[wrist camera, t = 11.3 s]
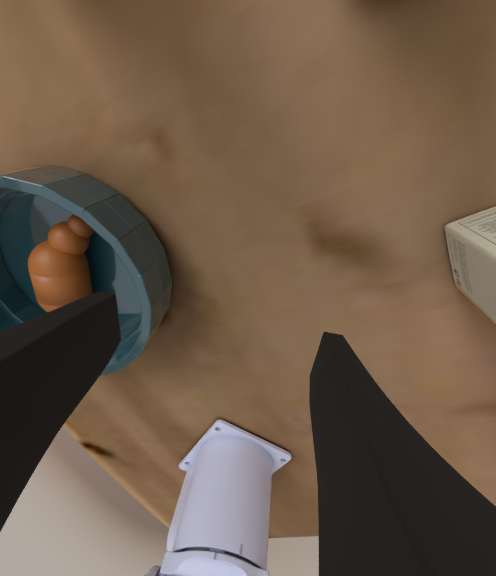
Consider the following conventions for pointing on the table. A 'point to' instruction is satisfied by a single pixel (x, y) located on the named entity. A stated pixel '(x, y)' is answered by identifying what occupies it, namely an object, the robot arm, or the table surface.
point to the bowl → (100, 254)
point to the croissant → (61, 265)
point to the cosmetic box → (475, 258)
